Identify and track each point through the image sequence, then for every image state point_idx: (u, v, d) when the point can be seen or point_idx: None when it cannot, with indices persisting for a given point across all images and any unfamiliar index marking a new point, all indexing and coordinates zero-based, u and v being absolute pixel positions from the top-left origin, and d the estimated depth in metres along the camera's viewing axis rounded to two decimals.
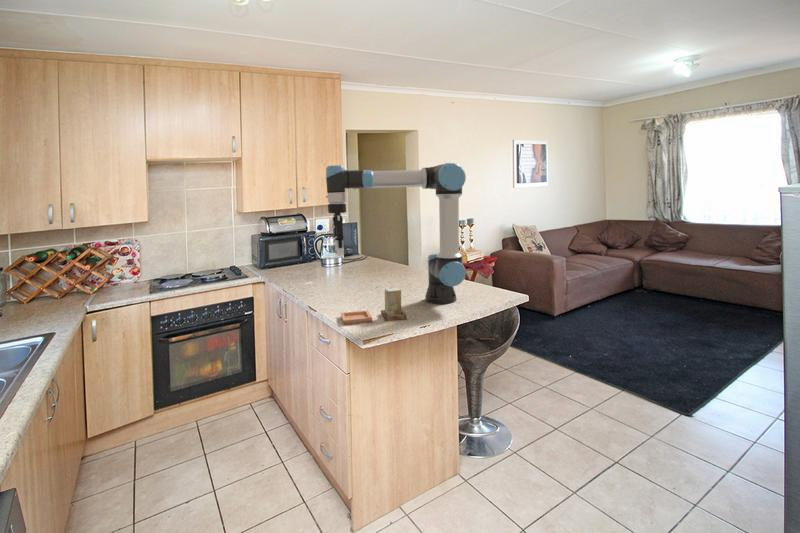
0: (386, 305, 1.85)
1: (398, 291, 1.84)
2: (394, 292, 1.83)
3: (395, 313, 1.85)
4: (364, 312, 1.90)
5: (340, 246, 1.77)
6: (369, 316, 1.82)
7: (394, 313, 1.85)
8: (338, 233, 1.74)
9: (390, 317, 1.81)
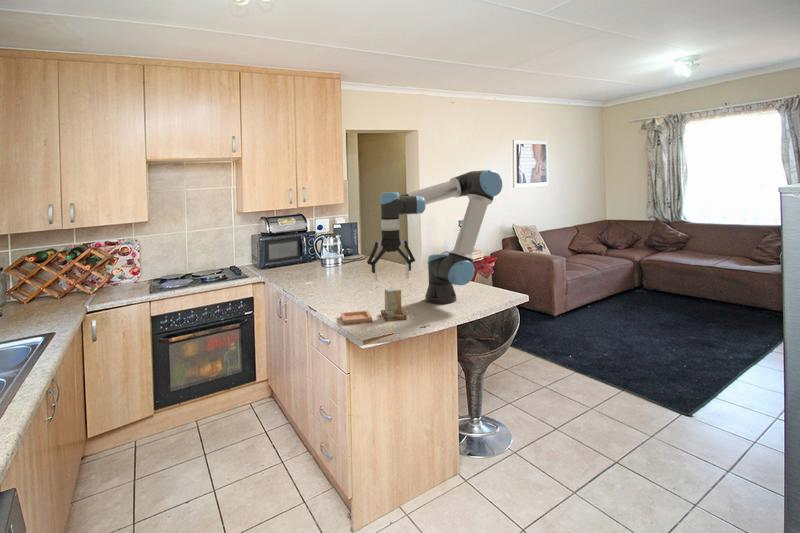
0: (386, 305, 1.85)
1: (398, 291, 1.84)
2: (394, 292, 1.83)
3: (395, 313, 1.85)
4: (364, 312, 1.90)
5: (372, 271, 1.82)
6: (369, 316, 1.82)
7: (394, 313, 1.85)
8: None
9: (390, 317, 1.81)
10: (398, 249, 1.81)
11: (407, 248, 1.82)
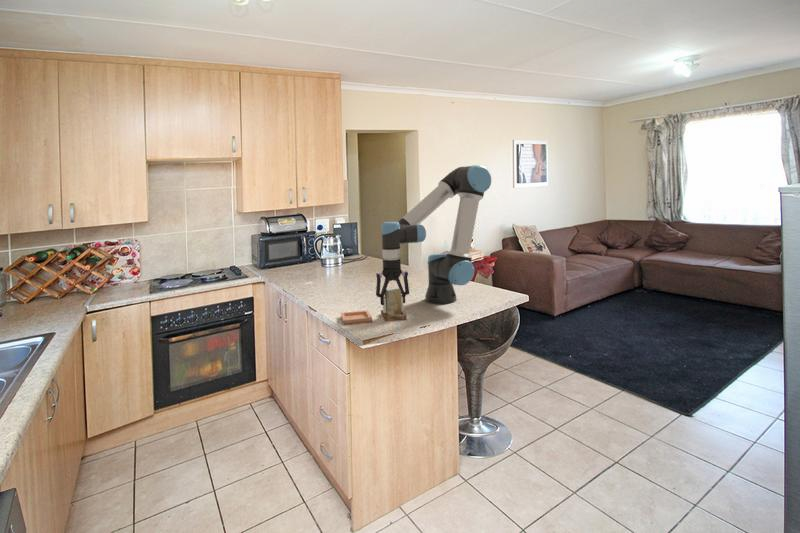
0: (386, 305, 1.85)
1: (398, 291, 1.84)
2: (394, 292, 1.83)
3: (395, 313, 1.85)
4: (364, 312, 1.90)
5: None
6: (369, 316, 1.82)
7: (394, 313, 1.85)
8: (376, 291, 1.84)
9: (390, 317, 1.81)
10: (397, 279, 1.83)
11: (406, 279, 1.84)
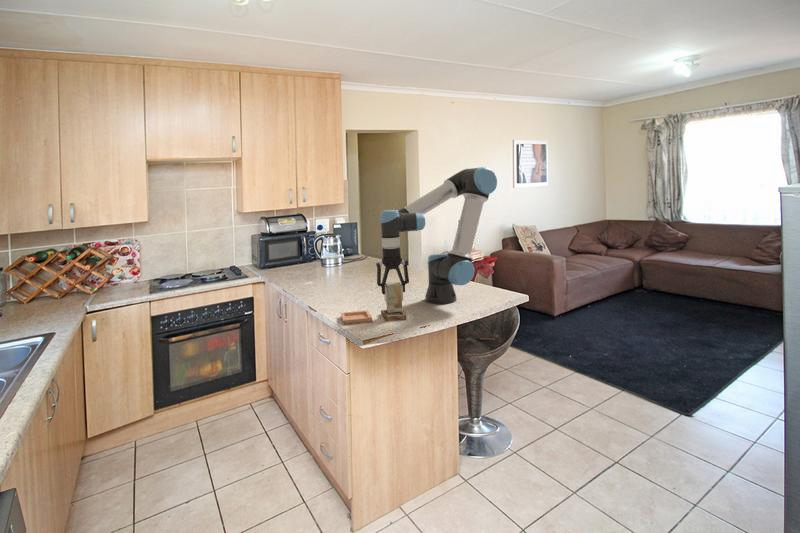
0: (387, 299, 1.85)
1: (398, 285, 1.83)
2: (394, 286, 1.82)
3: (395, 307, 1.84)
4: (364, 312, 1.90)
5: (382, 292, 1.84)
6: (369, 316, 1.82)
7: (394, 307, 1.84)
8: (377, 280, 1.84)
9: (390, 317, 1.81)
10: (397, 268, 1.82)
11: (406, 268, 1.84)
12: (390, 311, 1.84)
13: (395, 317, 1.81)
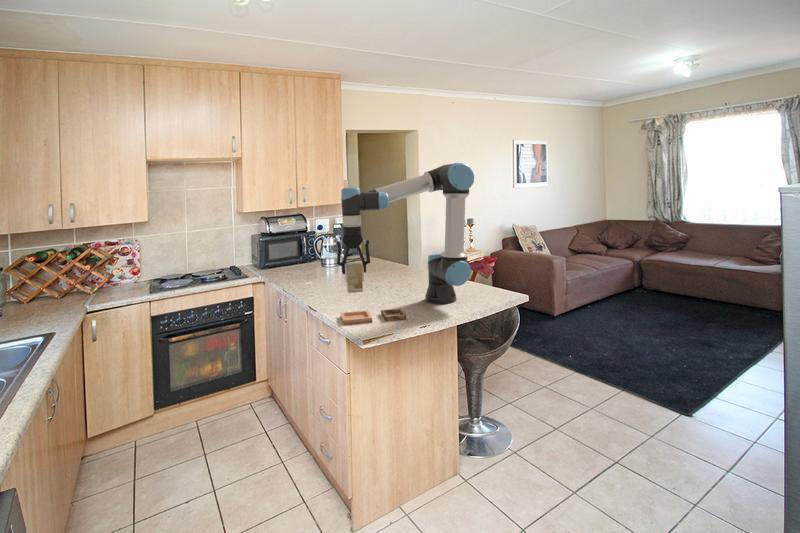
0: (347, 279, 1.81)
1: (358, 265, 1.79)
2: (354, 266, 1.78)
3: (356, 287, 1.80)
4: (364, 312, 1.90)
5: (342, 272, 1.80)
6: (369, 316, 1.82)
7: (354, 287, 1.80)
8: (337, 259, 1.79)
9: (390, 317, 1.81)
10: (358, 247, 1.78)
11: (367, 248, 1.79)
12: (350, 291, 1.80)
13: (395, 317, 1.81)
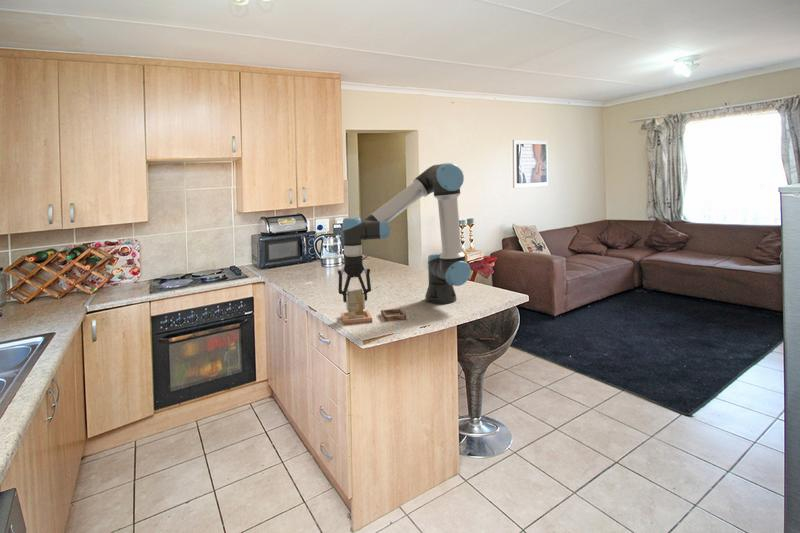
0: None
1: (359, 292, 1.81)
2: (355, 292, 1.81)
3: (356, 314, 1.82)
4: (364, 312, 1.90)
5: (343, 300, 1.82)
6: (369, 316, 1.82)
7: (355, 314, 1.82)
8: None
9: (390, 317, 1.81)
10: (359, 276, 1.80)
11: (368, 276, 1.82)
12: (351, 318, 1.82)
13: (395, 317, 1.81)
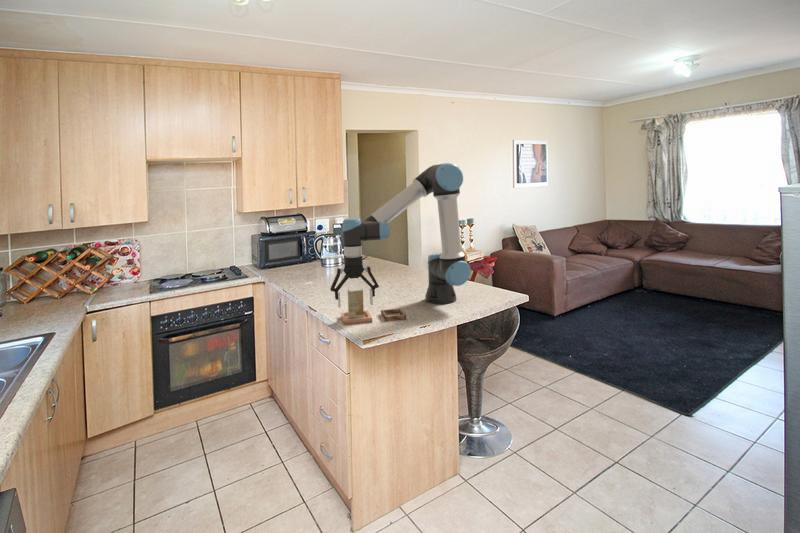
0: (348, 305, 1.83)
1: (360, 292, 1.81)
2: (355, 293, 1.81)
3: (357, 314, 1.82)
4: (364, 312, 1.90)
5: (335, 297, 1.81)
6: (369, 316, 1.82)
7: (355, 314, 1.82)
8: None
9: (390, 317, 1.81)
10: (361, 275, 1.80)
11: (370, 274, 1.82)
12: (351, 318, 1.82)
13: (395, 317, 1.81)
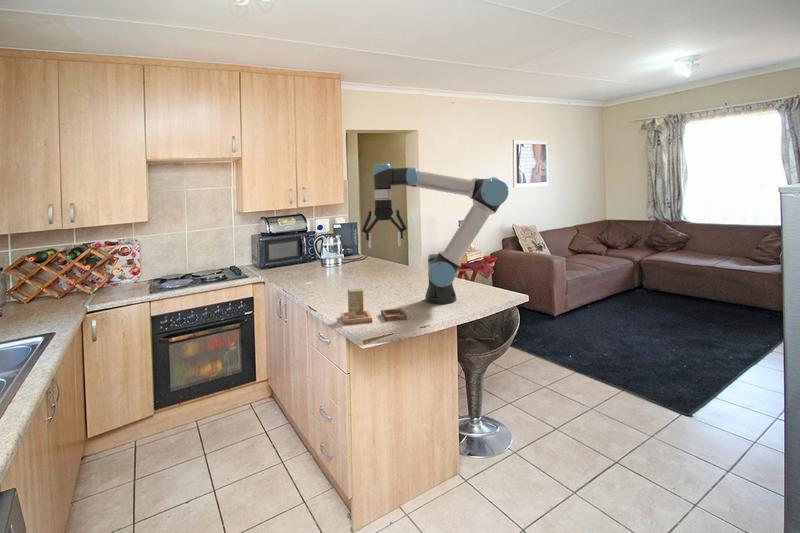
0: (348, 305, 1.83)
1: (360, 292, 1.81)
2: (355, 293, 1.81)
3: (357, 314, 1.82)
4: (364, 312, 1.90)
5: (366, 238, 1.94)
6: (369, 316, 1.82)
7: (355, 314, 1.82)
8: (363, 226, 1.93)
9: (390, 317, 1.81)
10: (390, 218, 1.93)
11: (399, 217, 1.95)
12: (351, 318, 1.82)
13: (395, 317, 1.81)
